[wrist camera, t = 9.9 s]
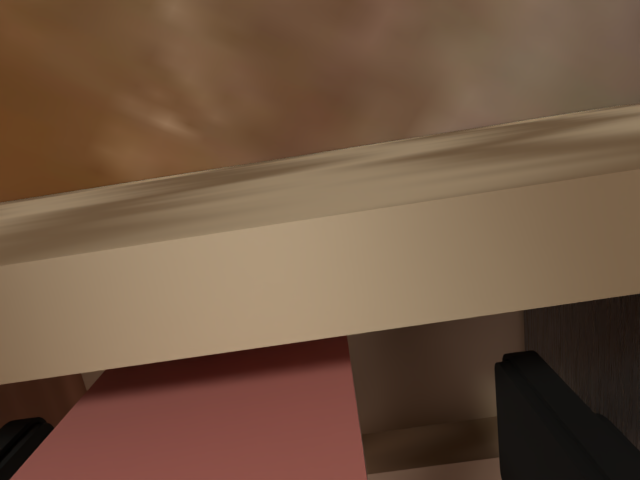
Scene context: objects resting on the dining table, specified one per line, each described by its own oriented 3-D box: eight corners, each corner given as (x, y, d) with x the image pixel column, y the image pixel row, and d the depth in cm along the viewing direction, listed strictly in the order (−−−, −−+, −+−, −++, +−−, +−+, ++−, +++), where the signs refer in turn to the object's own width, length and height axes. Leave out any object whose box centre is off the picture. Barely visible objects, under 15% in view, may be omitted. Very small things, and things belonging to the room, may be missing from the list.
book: (331, 226, 13) (391, 651, 2) (358, 409, 15) (465, 1132, 4) (215, 244, 13) (-201, 719, 3) (254, 423, 15) (100, 1158, 4)
